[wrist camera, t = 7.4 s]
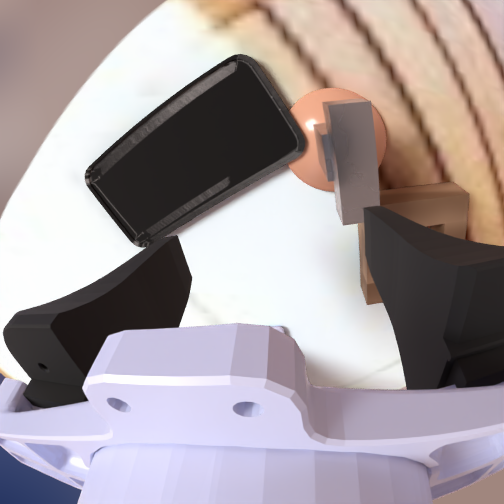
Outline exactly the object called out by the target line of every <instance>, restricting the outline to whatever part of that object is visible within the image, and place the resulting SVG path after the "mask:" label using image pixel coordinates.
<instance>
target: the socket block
mask: <svg viewBox="0 0 504 504" xmlns="http://www.w3.org/2000/svg"><path fill="white" fill-rule="evenodd" d="M379 194H380V206H382V207H385V208H387V209H389V210H391V211H393V212H395V213H397V214H399V215H401V216H403V217H406V218H408V219H410V220H412V221H414V222H416V223H418V224H421V225H423V226H425V227H426V226H430V229H432V230H435V231H438V232H441V233H444V234H447V235H450V236H453V237H456V238H460V239H464V240H465V237H466V228H467V218H468V206H469V193H467V192H466V191H465V190H463V189H462V188H461V187H459V186H458V185H457V184H456V183H454V182H447V183H438V184H429V185H420V186H412V187H404V188H396V189H388V190H380V191H379ZM358 233H359V251H360V277H361V288H362V291H363V294H364V297H365V300H366V303H367V305H370V304H376V303H382V302H383V301H382V299H381V296H380V294H379V292H378V290H377V287H376V285H375V283H374V281H373V278H372V276H371V273H370V270H369V267H368V263H367V260H366V256H365V233H364V223H358Z"/></svg>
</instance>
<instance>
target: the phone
mask: <svg viewBox="0 0 504 504" xmlns="http://www.w3.org/2000/svg"><path fill="white" fill-rule="evenodd" d="M304 148H305V139H304V136H303V134H302V132H301V131H300V129H299V127H298V126H297V124H296V122H295V121H294V119H293V117H292V116H291V114H290V113H289V111H288V109H287V108H286V106H285V104H284V103H283V101H282V100H281V98H280V97H279V95H278V94H277V92H276V91H275V89H274V87H273V86H272V84H271V83H270V81H269V80H268V78H267V77H266V75H265V74H264V73H263V71H262V70H261V68H260V67H259V65H258V64H257V62H256V61H255V60H254V59H253V58H251V57H249V56H247V55H243V54H238V55H233V56H231V57H229V58H227V59H226V60H224V61H222V62H221V63H219V64H218V65H216V66H215V67H213V68H212V69H210V70H209V71H207V72H206V73H204V74H203V75H201V76H200V77H198V78H197V79H195V80H194V81H192V82H191V83H190V84H188V85H187V86H185V87H184V88H183V89H181V90H180V91H178V92H177V93H176V94H174V95H173V96H172V97H170V98H169V99H168V100H166V101H165V102H164V103H162V104H161V105H160V106H158V107H157V108H156V109H155V110H153V111H152V112H151V113H150V114H148V115H147V116H146V117H145V118H143V119H142V120H141V121H140V122H138V123H137V124H136V125H135V126H134V127H132V128H131V129H130V130H129V131H128V132H127V133H125V134H124V135H123V136H122V137H121V138H120V139H119V140H117V141H116V142H115V143H114V144H113V145H112V146H111V147H110V148H108V149H107V150H106V151H105V152H104V153H103V154H102V155H101V156H100V157H99V158H98V159H97V160H95V161H94V162H93V163H92V164H91V165H90V166H89V167H88V169H87V170H86V173H85V182H86V184H87V186H88V188H89V189H90V191H91V192H92V193H93V194H94V196H95V197H96V198H97V200H98V201H99V202H100V204H101V205H102V206H103V207H104V209H105V210H106V211H107V213H108V214H109V215H110V216H111V218H112V219H113V220H114V221H115V223H116V224H117V225H118V226H119V228H120V229H121V230H122V231H123V233H124V234H125V235H126V236H127V238H128V239H129V240H130V241H131V242H132V243H133V244H134V245H136V246H138V247H142V248H143V247H148V246H150V245H151V244H153V243H154V242H156V241H158V240H159V239H161V238H163V237H164V236H166V235H167V234H169V233H171V232H172V231H174V230H175V229H177V228H179V227H180V226H182V225H184V224H185V223H187V222H189V221H190V220H192V219H193V218H195V217H196V216H198V215H200V214H201V213H203V212H205V211H206V210H208V209H209V208H211V207H213V206H214V205H216V204H218V203H219V202H221V201H223V200H224V199H226V198H228V197H230V196H231V195H233V194H235V193H236V192H238V191H240V190H241V189H243V188H245V187H247V186H248V185H250V184H252V183H254V182H255V181H257V180H259V179H261V178H262V177H264V176H266V175H268V174H269V173H271V172H273V171H275V170H276V169H278V168H280V167H282V166H284V165H285V164H287V163H289V162H291V161H293V160H295V159H296V158H298V157H299V156H300V155H301V154H302V152H303V151H304Z"/></svg>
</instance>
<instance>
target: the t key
mask: <svg viewBox="0 0 504 504" xmlns="http://www.w3.org/2000/svg"><path fill="white" fill-rule="evenodd" d="M322 105H323V111H324V117H325V123H319V124H313V127H314V133H315V139H316V145H317V152H318V159H319V164H320V166H321V168H322V170H323V172H324V174H325V176H326V178H327V181H328V182H330V181H334V190H335V199H336V208H337V212H338V214H339V217H340V219H341V222H342V224H343V225H350V224H357V223H364V211H363V208H364V207H371V206H380V194H379V176H378V162H377V150H376V140H375V130H374V121H373V113H372V106H371V101H368V100H364V99H361V98H358V99H347V100H337V101H328V102H322Z"/></svg>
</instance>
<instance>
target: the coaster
mask: <svg viewBox="0 0 504 504" xmlns="http://www.w3.org/2000/svg"><path fill="white" fill-rule="evenodd" d="M358 98H361V99H364V100H366V99H365V98H363V97H362V96H360V95H358V94H356V93H354V92H351V91H349V90H345V89H340V88H325V89H319V90H316V91H313V92H311V93H309V94H307V95H305V96H304V97H302V98H301V99H299V100H298V101H297V102H296V103H295V104H294V105H293V106H292V108H291V109H290V110H289V113H290V114H291V116H292V117H293V119H294V121H295V122H296V124H297V126H298V127H299V129H300V131H301V132H302V134H303V136H304V139H305V148H304V151H303V152H302V154H301V155H300V156H299V157H298V158H296V159H295V160H293V161H291V162H289V163H287V164H288V166H289V167H290V169H291V170H292V171H293V173H294V174H295V175H296V176H297V177H298V178H299V179H300V180H302V181H303V182H304V183H306V184H308V185H309V186H312V187H314V188H316V189H320V190H324V191H333V192H335V190H334V181H330V182H328V181H327V178H326V176H325V174H324V172H323V170H322V168H321V166H320V164H319V159H318V152H317V145H316V139H315V133H314V127H313V124H319V123H325V117H324V111H323V105H322V102H328V101H337V100H347V99H358ZM371 106H372V113H373V121H374V130H375V140H376V150H377V162H378V168H379V166H380V164H381V162H382V160H383V157H384V154H385V150H386V132H385V127H384V124H383V121H382V119H381V117H380V115H379V113H378V112H377V110H376V109H375V108H374V107H373V105H372V104H371Z"/></svg>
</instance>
